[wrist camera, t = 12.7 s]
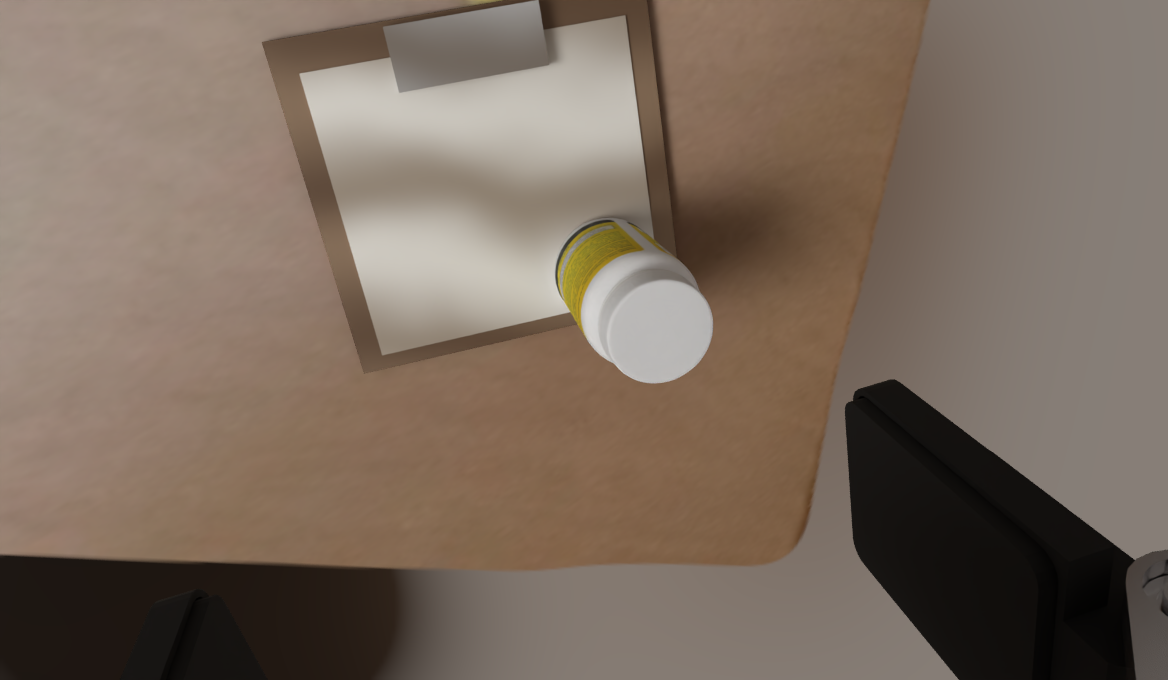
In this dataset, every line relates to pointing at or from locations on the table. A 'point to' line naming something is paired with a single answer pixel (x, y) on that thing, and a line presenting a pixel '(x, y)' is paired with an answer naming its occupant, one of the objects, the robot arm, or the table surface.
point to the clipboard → (471, 162)
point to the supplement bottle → (633, 300)
